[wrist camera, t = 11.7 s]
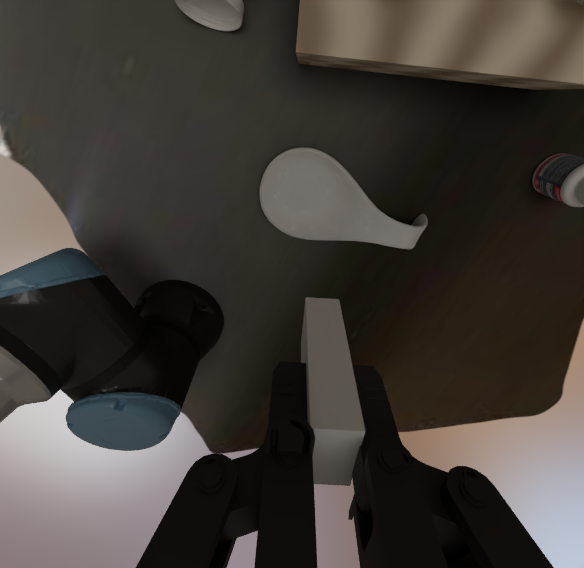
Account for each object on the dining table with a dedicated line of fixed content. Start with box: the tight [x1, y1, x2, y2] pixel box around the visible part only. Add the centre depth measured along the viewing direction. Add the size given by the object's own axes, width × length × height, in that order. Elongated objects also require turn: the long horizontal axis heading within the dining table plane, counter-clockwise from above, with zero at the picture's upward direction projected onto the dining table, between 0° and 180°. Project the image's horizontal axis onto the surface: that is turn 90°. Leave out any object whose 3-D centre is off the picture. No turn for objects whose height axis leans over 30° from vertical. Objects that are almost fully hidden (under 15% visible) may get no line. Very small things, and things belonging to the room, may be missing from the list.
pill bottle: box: [532, 153, 584, 207], centre depth 39 cm, size 5×5×9 cm
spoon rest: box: [259, 147, 428, 249], centre depth 43 cm, size 24×12×7 cm, turn 73°
